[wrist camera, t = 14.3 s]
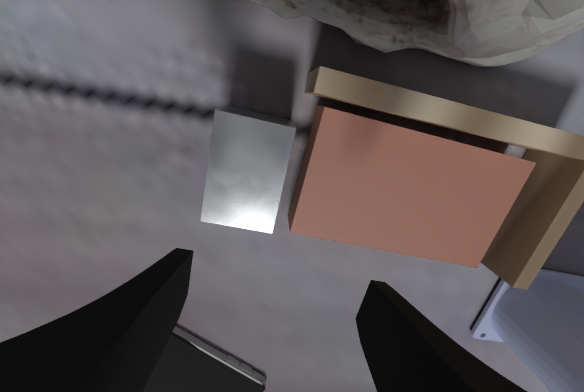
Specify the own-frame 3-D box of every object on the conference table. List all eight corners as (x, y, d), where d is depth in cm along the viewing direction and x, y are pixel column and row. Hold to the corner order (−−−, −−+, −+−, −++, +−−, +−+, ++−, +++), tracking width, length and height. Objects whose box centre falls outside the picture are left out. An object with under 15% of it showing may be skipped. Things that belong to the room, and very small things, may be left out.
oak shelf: (551, 135, 19) (618, 145, 15) (484, 257, 22) (527, 289, 19) (309, 72, 17) (320, 65, 13) (275, 220, 20) (276, 249, 16)
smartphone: (124, 302, 21) (269, 386, 25) (131, 292, 22) (269, 374, 26) (71, 362, 23) (215, 431, 27) (80, 349, 24) (217, 417, 28)
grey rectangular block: (290, 120, 18) (296, 128, 13) (272, 203, 20) (272, 233, 15) (229, 105, 17) (214, 109, 13) (216, 193, 19) (200, 220, 15)
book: (499, 153, 20) (536, 162, 17) (451, 246, 22) (477, 267, 20) (316, 104, 18) (324, 106, 15) (287, 213, 20) (290, 232, 17)
